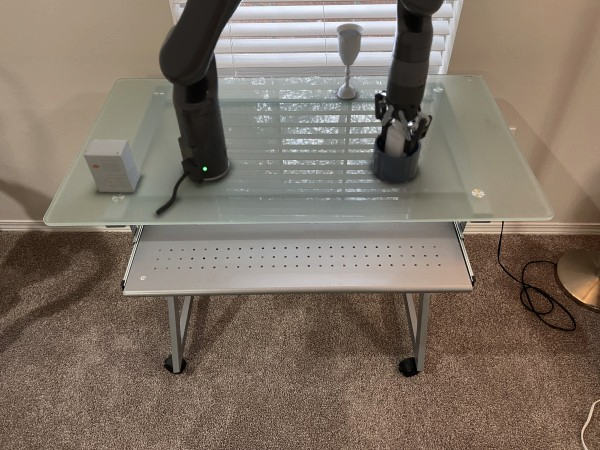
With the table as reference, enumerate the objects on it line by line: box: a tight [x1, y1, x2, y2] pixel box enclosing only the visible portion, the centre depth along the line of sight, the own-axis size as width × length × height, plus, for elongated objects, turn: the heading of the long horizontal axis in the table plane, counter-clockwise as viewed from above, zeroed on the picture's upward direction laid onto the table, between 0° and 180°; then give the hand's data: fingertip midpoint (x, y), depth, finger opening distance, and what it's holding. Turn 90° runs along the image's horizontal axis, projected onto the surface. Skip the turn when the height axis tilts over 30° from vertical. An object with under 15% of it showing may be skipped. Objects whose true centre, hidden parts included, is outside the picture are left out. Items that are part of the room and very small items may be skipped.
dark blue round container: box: [371, 133, 422, 184], centre depth 113 cm, size 10×10×7 cm
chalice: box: [335, 23, 364, 100], centre depth 131 cm, size 7×7×18 cm
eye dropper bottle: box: [384, 119, 407, 157], centre depth 109 cm, size 4×6×12 cm
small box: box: [83, 139, 141, 193], centre depth 109 cm, size 8×6×10 cm
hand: (396, 144), depth 110 cm, fingers closed on eye dropper bottle, 5 cm apart
